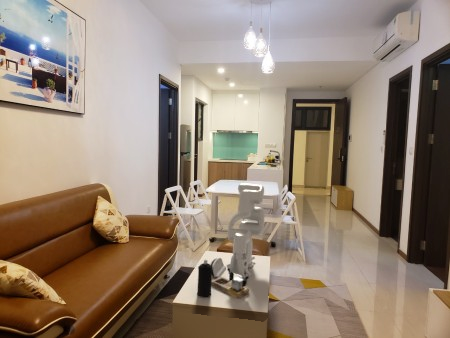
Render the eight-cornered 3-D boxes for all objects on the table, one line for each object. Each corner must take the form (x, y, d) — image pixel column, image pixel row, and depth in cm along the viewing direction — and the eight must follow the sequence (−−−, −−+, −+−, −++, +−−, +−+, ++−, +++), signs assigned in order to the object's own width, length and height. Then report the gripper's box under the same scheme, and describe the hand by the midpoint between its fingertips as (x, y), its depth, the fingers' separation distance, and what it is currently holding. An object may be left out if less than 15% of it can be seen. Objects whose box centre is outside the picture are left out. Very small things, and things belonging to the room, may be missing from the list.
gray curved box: (218, 279, 194) (214, 263, 195) (211, 280, 196) (207, 265, 196) (226, 268, 210) (222, 254, 210) (220, 269, 212) (216, 255, 212)
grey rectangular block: (236, 289, 182) (237, 276, 181) (243, 293, 179) (243, 279, 178) (231, 292, 178) (231, 279, 178) (237, 296, 175) (238, 282, 174)
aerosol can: (212, 297, 173) (214, 262, 170) (198, 298, 170) (200, 263, 168) (209, 289, 180) (211, 257, 178) (195, 291, 178) (197, 257, 176)
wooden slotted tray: (220, 280, 193) (221, 276, 193) (248, 293, 179) (248, 288, 178) (210, 284, 186) (210, 280, 186) (238, 298, 172) (239, 294, 172)
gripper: (255, 257, 173) (253, 286, 175) (232, 248, 185) (230, 276, 187) (247, 261, 168) (245, 290, 170) (223, 252, 179) (222, 280, 181)
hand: (237, 283), depth 178 cm, fingers open, 9 cm apart
